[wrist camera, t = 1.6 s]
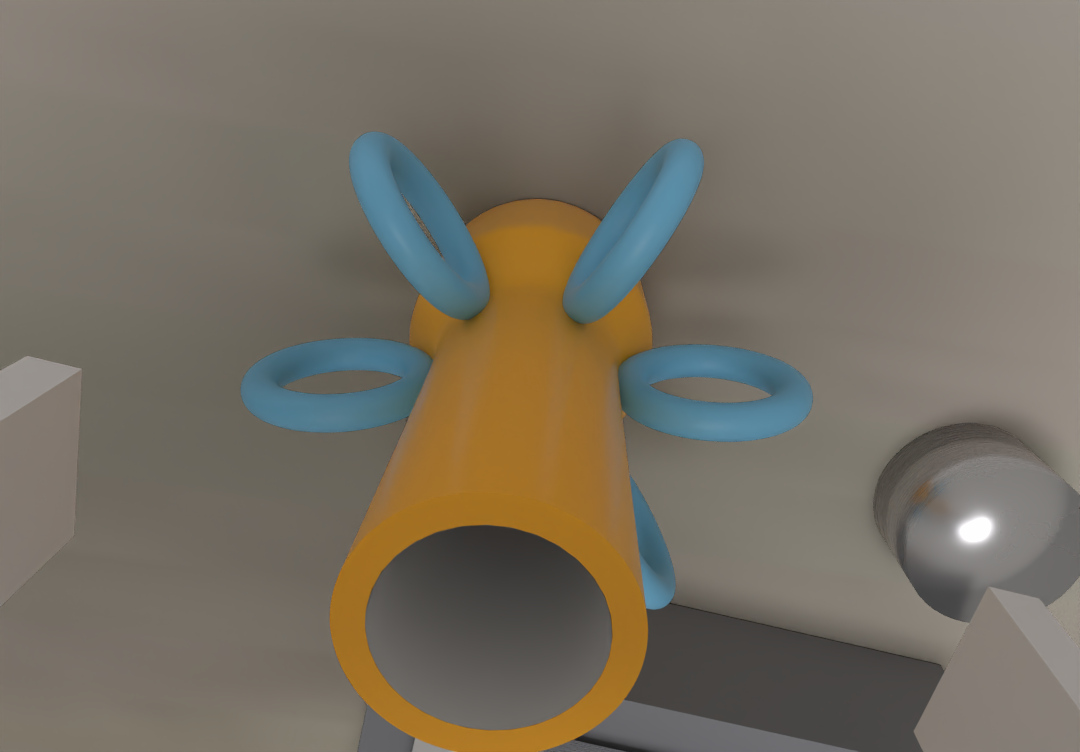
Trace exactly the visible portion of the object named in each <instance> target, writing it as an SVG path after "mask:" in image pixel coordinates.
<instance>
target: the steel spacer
mask: <svg viewBox="0 0 1080 752" xmlns="http://www.w3.org/2000/svg"><path fill="white" fill-rule="evenodd" d="M873 510H874V517H875V521H876V525H877V527H878V529H879V532H880V534H881V535H882V537H883V538H884V540H885V542H886V543H887V545H888V547H889V548H890V550H891V551H892V553H893V555H894V556H895V558H896V559H897V561H898V563H899V564H900V566H901V568H902V569H903V571H904V572H905V574H906V576H907V577H908V579H909V580H910V582H911V584H912V585H913V587H914V588H915V590H916V592H917V593H918V595H919V596H920V597H921V598H922V599H923V600H924V601H925V602H926V603H927V604H928V605H929V606H930V607H932V608H933V609H934V610H936V611H938V612H939V613H941V614H943V615H945V616H948V617H950V618H953V619H956V620H959V621H963V622H969V623H970V621H971V619H972V617H973V615H974V613H975V612H976V610H977V608H978V606H979V604H980V602H981V600H982V598H983V596H984V594H985V592H986V590H987V588H988V586H989V587H993V588H997V589H1001V590H1006V591H1010V592H1014V593H1018V594H1022V595H1027V596H1031V597H1035V598H1039V599H1040V600H1041V601H1042V603H1043V604H1044V605H1045V606H1048V605H1050V604H1051V603H1053V602H1054V601H1055V600H1057V599H1058V598H1059V597H1061V596H1062V595H1063V594H1064V593H1065V592H1066V591H1067V590H1068V589H1069V588H1070V587H1071V586H1072V585H1073V584H1074V582H1075V581H1076V580H1077V579H1078V577H1079V576H1080V495H1079V494H1078V493H1077V492H1076V491H1075V490H1074V489H1073V488H1072V487H1071V486H1070V485H1069V484H1068V483H1066V482H1065V481H1064V480H1063V479H1062V478H1061V477H1060V476H1059V475H1058V474H1056V473H1055V472H1054V471H1053V470H1052V469H1051V468H1050V467H1049V466H1048V465H1046V464H1045V463H1044V462H1043V461H1042V460H1041V459H1040V458H1039V457H1038V456H1036V455H1035V454H1034V453H1033V452H1032V451H1031V450H1030V449H1029V448H1028V447H1026V446H1025V445H1024V444H1023V443H1022V442H1021V441H1020V440H1019V439H1017V438H1016V437H1014V436H1013V435H1011V434H1010V433H1008V432H1006V431H1004V430H1001V429H999V428H996V427H992V426H988V425H983V424H970V423H967V424H955V425H950V426H945V427H941V428H938V429H935V430H932V431H930V432H928V433H925V434H923V435H921V436H920V437H918V438H916V439H914V440H913V441H911V442H910V443H909V444H907V445H906V446H904V447H903V448H902V449H901V450H900V451H899V452H898V453H897V454H896V455H895V456H894V457H893V458H892V459H891V460H890V462H889V463H888V464H887V466H886V467H885V469H884V470H883V472H882V474H881V476H880V478H879V480H878V483H877V486H876V489H875V494H874V502H873Z"/></svg>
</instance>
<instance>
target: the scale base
mask: <svg viewBox="0 0 1080 752" xmlns="http://www.w3.org/2000/svg"><path fill="white" fill-rule="evenodd" d="M646 611H647V620H648V642H647V649H646V654H645V659H644V662H643V665H642V668H641V671H640V673H639V676H638V678H637V680H636V682H635V684H634V685H633V687H632V689H631V690H630V692H629V693H628V695H627V696H626V698H625V699H624V700H623V702H622V703H621V704H620V705H619V706H618V707H617V708H616V710H615V711H614V712H613V713H612V714H610V715H609V716H608V717H607V718H606V719H605V720H604V721H602V722H601V723H600V724H599V725H597V726H596V727H594V728H593V729H591V730H590V731H588V732H587V733H585V734H583V735H581V736H580V737H578V738H576V739H574V740H575V741H580V742H584V743H589V744H594V745H598V746H603V747H607V748H612V749H616V750H621V751H626V752H923V751H922V748H921V746H920V744H919V742H918V740H917V738H916V736H915V734H914V730H915V728H916V726H917V724H918V722H919V720H920V718H921V716H922V714H923V712H924V710H925V708H926V706H927V705H928V703H929V701H930V699H931V697H932V695H933V693H934V691H935V689H936V687H937V685H938V683H939V681H940V679H941V677H942V675H943V674H944V670H943V669H942V667H941V665H938V664H933V663H929V662H925V661H920V660H916V659H911V658H907V657H903V656H898V655H894V654H889V653H885V652H881V651H876V650H872V649H867V648H863V647H859V646H854V645H850V644H845V643H841V642H837V641H832V640H828V639H823V638H819V637H815V636H810V635H806V634H801V633H797V632H793V631H788V630H784V629H779V628H775V627H771V626H766V625H762V624H757V623H753V622H749V621H744V620H740V619H735V618H731V617H727V616H722V615H718V614H713V613H709V612H705V611H700V610H696V609H691V608H687V607H683V606H678V605H674V604H668V605H666V606H665V607H663V608H661V609H655V610H653V609H647V608H646ZM414 740H415V738H414V737H412V736H410V735H408V734H407V733H405V732H403V731H401V730H400V729H398V728H396V727H395V726H393V725H392V724H390V723H389V722H388V721H386V720H385V719H384V718H382V717H381V716H380V715H379V714H377V713H376V712H375V711H374V710H373V709H372V708H371V707H370V706H369V705H368V704H367V709H366V714H365V718H364V723H363V728H362V732H361V737H360V742H359V747H358V751H357V752H412V748H413V744H414Z"/></svg>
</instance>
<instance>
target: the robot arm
mask: <svg viewBox="0 0 1080 752" xmlns="http://www.w3.org/2000/svg"><path fill="white" fill-rule="evenodd" d="M81 384H82V369H80V368H76V367H72V366H68V365H64V364H60V363H55V362H51V361H47V360H43V359H39V358H35V357H30V356H26V357H24V358H22V359H20V360H18V361H17V362H15V363H13V364H11V365H9V366H8V367H6V368H4V369H2V370H0V607H1V606H2V605H3V604H4V603H5V602H6V601H7V600H8V599H9V598H10V597H11V596H12V595H13V594H14V593H15V592H16V591H17V590H18V589H19V588H21V587H22V586H23V585H24V584H25V583H26V582H27V581H28V580H29V579H30V578H31V577H32V576H33V575H34V574H35V573H36V572H37V571H38V570H39V569H40V568H41V567H42V566H44V565H45V564H46V563H47V562H48V561H49V560H50V559H51V558H52V557H53V556H54V555H55V554H56V553H57V552H58V551H59V550H60V549H61V548H62V547H63V546H64V545H66V544H67V543H68V542H69V541H70V540H71V539H72V538H73V537H74V530H75V509H76V488H77V467H78V447H79V426H80V405H81ZM914 734H915V736H916V738H917V740H918V742H919V744H920V746H921V748H922V751H923V752H1080V648H1079V647H1078V646H1077V644H1076V643H1075V642H1074V641H1073V639H1072V638H1071V637H1070V636H1069V635H1068V633H1067V632H1066V631H1065V630H1064V628H1063V627H1062V626H1061V625H1060V623H1059V622H1058V621H1057V620H1056V619H1055V617H1054V616H1053V615H1052V614H1051V612H1050V611H1049V610H1048V609H1047V608H1046V606H1045V605H1044V604H1043V603H1042V601H1041V600H1040V599H1039V598H1035V597H1031V596H1027V595H1022V594H1018V593H1014V592H1010V591H1006V590H1001V589H997V588H993V587H989V586H988V588H987V590H986V592H985V594H984V596H983V598H982V600H981V602H980V604H979V606H978V608H977V610H976V612H975V613H974V615H973V617H972V619H971V621H970V623H969V625H968V627H967V629H966V631H965V633H964V635H963V637H962V639H961V641H960V643H959V644H958V646H957V648H956V650H955V652H954V654H953V656H952V658H951V660H950V662H949V664H948V666H947V668H946V670H945V672H944V674H943V675H942V677H941V679H940V681H939V683H938V685H937V687H936V689H935V691H934V693H933V695H932V697H931V699H930V701H929V703H928V705H927V706H926V708H925V710H924V712H923V714H922V716H921V718H920V720H919V722H918V724H917V726H916V728H915V730H914Z"/></svg>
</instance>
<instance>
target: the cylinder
mask: <svg viewBox="0 0 1080 752" xmlns="http://www.w3.org/2000/svg"><path fill="white" fill-rule="evenodd" d="M349 168H350V174H351V179H352V183H353V186H354V189H355V192H356V195H357V197H358V200H359V202H360V205H361V207H362V209H363V211H364V213H365V215H366V217H367V219H368V221H369V223H370V225H371V227H372V229H373V230H374V232H375V234H376V236H377V237H378V239H379V241H380V242H381V244H382V245H383V247H384V248H385V250H386V252H387V253H388V254H389V256H390V257H391V259H392V260H393V262H394V263H395V264H396V266H397V267H398V268H399V270H400V271H401V272H402V274H403V275H404V276H405V277H406V279H407V280H408V281H409V282H410V283H411V284H412V286H413V287H414V288H415V289H416V290H417V291H418V292H419V296H418V298H417V301H416V304H415V307H414V310H413V314H412V318H411V324H410V336H409V343H410V345H408V344H404V343H400V342H396V341H391V340H384V339H374V338H339V339H328V340H320V341H314V342H308V343H304V344H299V345H295V346H292V347H288V348H285V349H282V350H279V351H277V352H274V353H272V354H270V355H268V356H266V357H264V358H263V359H261V360H259V361H258V362H257V363H255V364H254V365H253V366H252V367H251V368H250V369H249V370H248V371H247V373H246V374H245V376H244V378H243V380H242V383H241V397H242V400H243V402H244V404H245V406H246V407H247V409H248V410H249V411H250V412H251V413H252V414H253V415H255V416H256V417H258V418H259V419H261V420H263V421H265V422H267V423H269V424H272V425H275V426H278V427H281V428H285V429H290V430H296V431H304V432H321V433H330V432H348V431H356V430H363V429H369V428H374V427H378V426H382V425H386V424H389V423H393V422H396V421H398V420H401V419H404V418H406V417H408V416H409V418H408V420H407V423H406V425H405V427H404V429H403V432H402V434H401V436H400V438H399V441H398V443H397V445H396V447H395V450H394V452H393V454H392V456H391V459H390V461H389V463H388V465H387V468H386V470H385V472H384V474H383V477H382V479H381V481H380V483H379V486H378V488H377V490H376V492H375V495H374V497H373V499H372V501H371V504H370V506H369V508H368V510H367V513H366V515H365V517H364V519H363V522H362V524H361V526H360V528H359V531H358V533H357V535H356V537H355V540H354V542H353V544H352V546H351V549H350V551H349V553H348V555H347V557H346V560H345V562H344V564H343V566H342V569H341V571H340V573H339V576H338V578H337V581H336V584H335V587H334V590H333V594H332V599H331V604H330V630H331V636H332V641H333V645H334V649H335V652H336V655H337V658H338V660H339V663H340V665H341V667H342V669H343V671H344V673H345V675H346V677H347V678H348V680H349V681H350V683H351V685H352V686H353V687H354V689H355V690H356V691H357V693H358V694H359V695H360V696H361V698H362V699H363V700H364V701H365V702H366V703H367V704H368V705H369V706H370V707H371V708H372V709H373V710H374V711H375V712H376V713H377V714H379V715H380V716H381V717H382V718H384V719H385V720H386V721H388V722H389V723H390V724H392V725H393V726H395V727H396V728H398V729H400V730H401V731H403V732H405V733H407V734H408V735H410V736H412V737H414V738H417V739H419V740H421V741H423V742H426V743H428V744H431V745H434V746H437V747H440V748H443V749H446V750H450V751H454V752H539V751H543V750H547V749H550V748H554V747H556V746H559V745H562V744H564V743H567V742H569V741H571V740H574V739H576V738H578V737H580V736H581V735H583V734H585V733H587V732H588V731H590V730H591V729H593V728H594V727H596V726H597V725H599V724H600V723H601V722H602V721H604V720H605V719H606V718H607V717H608V716H609V715H610V714H612V713H613V712H614V711H615V710H616V708H617V707H618V706H619V705H620V704H621V703H622V702H623V700H624V699H625V698H626V696H627V695H628V693H629V692H630V690H631V689H632V687H633V685H634V684H635V682H636V680H637V678H638V676H639V673H640V671H641V668H642V665H643V662H644V659H645V654H646V649H647V642H648V620H647V611H646V608H647V609H653V610H655V609H661V608H663V607H665V606H666V605H668V604H669V603H670V601H671V600H672V598H673V596H674V593H675V586H676V583H675V574H674V569H673V565H672V561H671V558H670V555H669V552H668V549H667V546H666V544H665V541H664V539H663V536H662V534H661V531H660V529H659V527H658V525H657V523H656V520H655V518H654V516H653V514H652V512H651V510H650V508H649V506H648V504H647V503H646V501H645V499H644V497H643V495H642V494H641V492H640V490H639V488H638V487H637V485H636V483H635V482H634V480H633V479H632V477H631V476H630V474H629V467H628V459H627V450H626V442H625V434H624V425H623V418H624V417H625V416H626V415H628V416H630V417H631V418H632V419H634V420H636V421H637V422H639V423H641V424H643V425H645V426H647V427H650V428H652V429H655V430H657V431H660V432H664V433H667V434H671V435H674V436H679V437H684V438H689V439H696V440H704V441H717V442H739V441H751V440H758V439H764V438H768V437H772V436H776V435H779V434H782V433H784V432H787V431H789V430H791V429H792V428H794V427H796V426H797V425H799V424H800V423H801V422H802V421H803V420H804V419H805V418H806V417H807V415H808V414H809V412H810V410H811V407H812V403H813V394H812V390H811V387H810V385H809V383H808V381H807V380H806V379H805V377H804V376H803V375H802V374H801V373H800V372H799V371H797V370H796V369H795V368H793V367H792V366H790V365H788V364H786V363H785V362H783V361H780V360H778V359H776V358H773V357H771V356H768V355H765V354H761V353H758V352H754V351H750V350H745V349H740V348H734V347H728V346H719V345H702V344H688V345H673V346H665V347H659V348H654V349H653V336H652V325H651V319H650V314H649V310H648V306H647V303H646V299H645V295H644V292H643V288H642V284H641V281H640V279H641V278H642V277H643V275H644V274H645V273H646V272H647V270H648V269H649V268H650V266H651V265H652V264H653V262H654V261H655V260H656V258H657V257H658V255H659V254H660V253H661V251H662V250H663V248H664V247H665V245H666V244H667V242H668V241H669V239H670V238H671V236H672V235H673V233H674V231H675V230H676V228H677V227H678V225H679V223H680V221H681V220H682V218H683V216H684V215H685V213H686V211H687V209H688V207H689V205H690V203H691V201H692V199H693V197H694V195H695V193H696V191H697V188H698V186H699V183H700V180H701V177H702V173H703V168H704V157H703V154H702V151H701V149H700V148H699V146H698V145H697V144H696V143H694V142H693V141H691V140H688V139H676V140H673V141H671V142H669V143H667V144H666V145H664V146H663V147H662V148H660V149H659V150H658V151H657V152H656V153H655V154H654V155H653V156H652V157H651V158H650V159H649V160H648V161H647V162H646V163H645V164H644V166H643V167H642V168H641V169H640V170H639V171H638V173H637V174H636V175H635V176H634V178H633V179H632V180H631V181H630V183H629V184H628V185H627V186H626V188H625V189H624V190H623V192H622V193H621V194H620V196H619V197H618V199H617V200H616V201H615V203H614V204H613V205H612V207H611V208H610V210H609V211H608V213H607V214H606V216H605V217H604V219H603V220H602V221H601V220H600V219H598V218H597V217H595V216H594V215H592V214H590V213H589V212H587V211H585V210H583V209H581V208H578V207H576V206H573V205H570V204H567V203H564V202H560V201H554V200H547V199H525V200H517V201H513V202H509V203H505V204H502V205H499V206H496V207H494V208H492V209H490V210H488V211H486V212H484V213H482V214H480V215H479V216H477V217H476V218H474V219H473V220H472V221H470V222H469V223H468V224H467V225H466V226H465V224H464V222H463V220H462V219H461V217H460V215H459V214H458V212H457V210H456V209H455V207H454V205H453V204H452V202H451V201H450V199H449V198H448V196H447V195H446V193H445V192H444V191H443V189H442V188H441V186H440V185H439V184H438V182H437V181H436V180H435V178H434V177H433V176H432V174H431V173H430V172H429V171H428V170H427V168H426V167H425V166H424V165H423V164H422V162H421V161H420V160H419V159H418V158H417V157H416V156H415V155H414V154H413V153H412V152H411V151H410V150H409V149H408V148H407V147H406V146H404V145H403V144H402V143H401V142H399V141H398V140H397V139H395V138H393V137H392V136H390V135H388V134H385V133H382V132H368V133H365V134H363V135H361V136H360V137H359V138H358V139H357V140H356V141H355V142H354V144H353V146H352V148H351V151H350V156H349ZM401 193H402V194H401ZM402 195H403V196H404V197H405V198H406V199H407V201H408V202H409V203H410V204H411V206H412V207H413V208H414V210H415V211H416V212H417V214H418V215H419V217H420V218H421V220H422V221H423V223H424V224H425V226H426V227H427V229H428V230H429V232H430V234H431V235H432V237H433V239H434V240H435V242H436V244H437V246H438V248H439V250H440V252H441V254H442V256H441V255H440V254H439V253H438V252H437V250H436V249H435V248H434V246H433V245H432V244H431V242H430V241H429V239H428V238H427V237H426V235H425V234H424V232H423V231H422V229H421V227H420V226H419V224H418V223H417V221H416V219H415V218H414V216H413V214H412V213H411V211H410V209H409V207H408V206H407V204H406V202H405V200H404V198H403V196H402ZM346 370H368V371H378V372H385V373H390V374H393V375H397V376H399V377H402V379H400V380H398V381H396V382H394V383H391V384H388V385H386V386H382V387H379V388H375V389H371V390H366V391H360V392H353V393H343V394H310V393H301V392H295V391H291V390H287V389H284V388H282V387H283V386H285V385H287V384H289V383H291V382H293V381H296V380H298V379H301V378H304V377H308V376H312V375H316V374H321V373H327V372H334V371H346ZM684 377H707V378H718V379H725V380H731V381H736V382H740V383H744V384H748V385H751V386H754V387H756V388H759V389H761V390H763V391H765V392H767V393H769V394H770V395H772V396H770V397H768V398H765V399H761V400H756V401H749V402H738V403H717V402H705V401H697V400H690V399H685V398H681V397H677V396H673V395H670V394H667V393H664V392H661V391H659V390H657V389H655V388H653V387H651V386H650V385H651V384H653V383H656V382H659V381H663V380H667V379H674V378H684Z"/></svg>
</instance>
